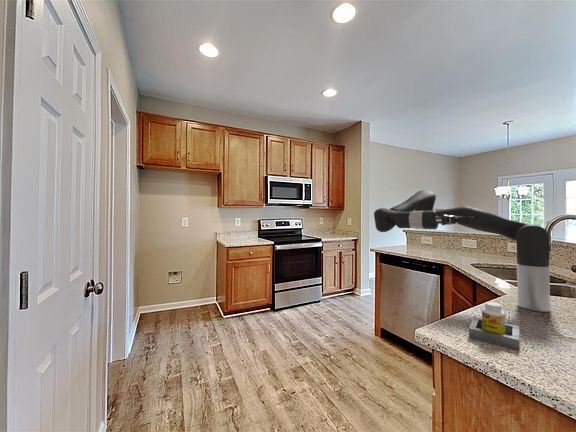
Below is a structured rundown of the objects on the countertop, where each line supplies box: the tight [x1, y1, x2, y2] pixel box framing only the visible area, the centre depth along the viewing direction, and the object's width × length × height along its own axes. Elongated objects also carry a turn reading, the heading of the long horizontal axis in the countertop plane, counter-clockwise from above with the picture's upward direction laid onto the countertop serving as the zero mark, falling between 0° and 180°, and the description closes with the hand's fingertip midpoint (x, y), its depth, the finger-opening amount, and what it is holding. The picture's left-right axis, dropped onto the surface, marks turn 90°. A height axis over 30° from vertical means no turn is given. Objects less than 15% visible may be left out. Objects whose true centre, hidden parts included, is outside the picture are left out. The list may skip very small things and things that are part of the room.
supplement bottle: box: [481, 301, 506, 335], centre depth 78 cm, size 6×6×10 cm
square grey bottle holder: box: [468, 316, 521, 352], centre depth 78 cm, size 11×11×3 cm
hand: (472, 219), depth 91 cm, fingers open, 8 cm apart
